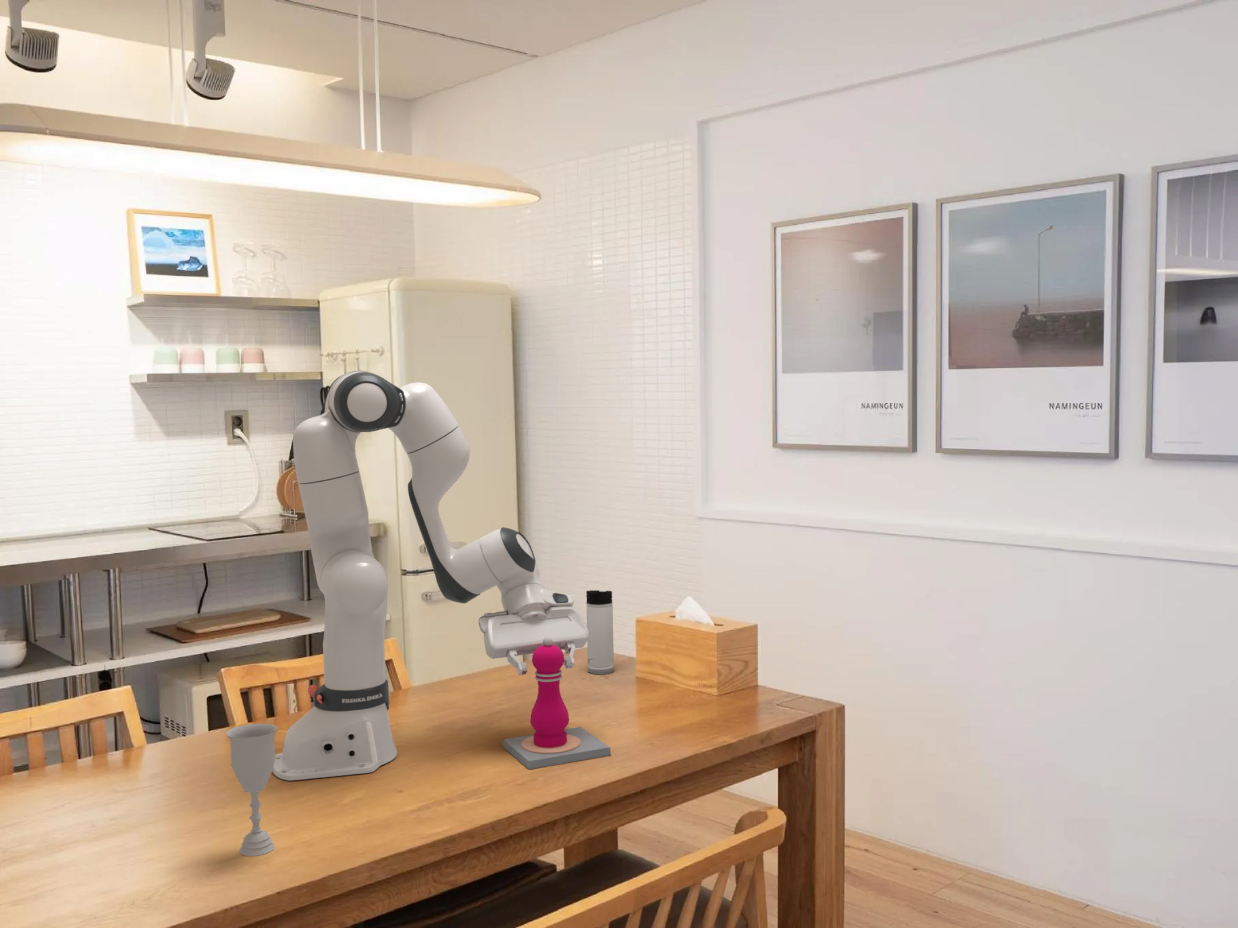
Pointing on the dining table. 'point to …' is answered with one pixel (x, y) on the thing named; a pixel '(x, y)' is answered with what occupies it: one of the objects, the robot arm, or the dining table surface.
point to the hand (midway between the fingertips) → (547, 669)
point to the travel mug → (600, 632)
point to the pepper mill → (549, 697)
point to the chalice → (253, 776)
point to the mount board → (557, 749)
